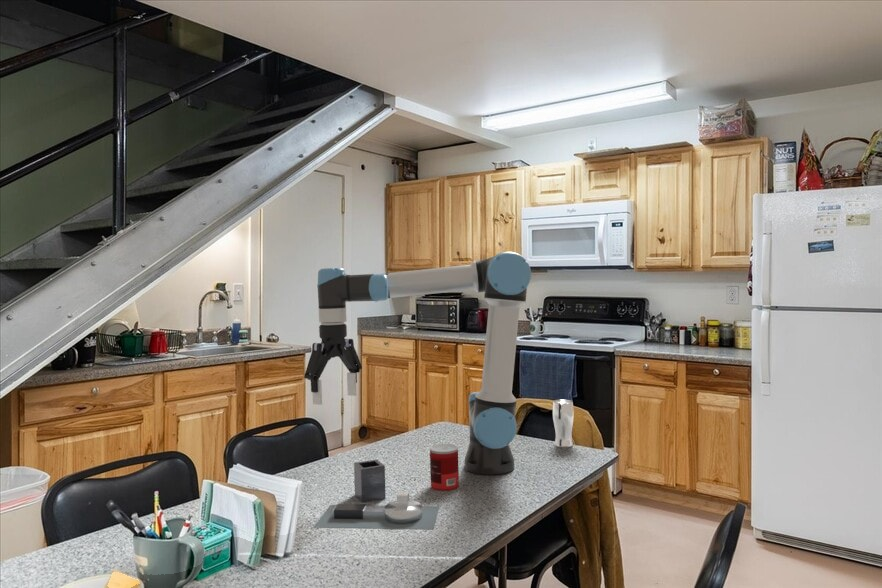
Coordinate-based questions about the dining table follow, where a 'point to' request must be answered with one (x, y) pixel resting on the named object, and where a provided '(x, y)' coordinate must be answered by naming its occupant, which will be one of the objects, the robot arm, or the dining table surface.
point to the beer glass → (563, 422)
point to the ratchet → (382, 511)
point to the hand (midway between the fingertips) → (335, 399)
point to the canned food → (444, 467)
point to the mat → (378, 521)
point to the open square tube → (369, 480)
